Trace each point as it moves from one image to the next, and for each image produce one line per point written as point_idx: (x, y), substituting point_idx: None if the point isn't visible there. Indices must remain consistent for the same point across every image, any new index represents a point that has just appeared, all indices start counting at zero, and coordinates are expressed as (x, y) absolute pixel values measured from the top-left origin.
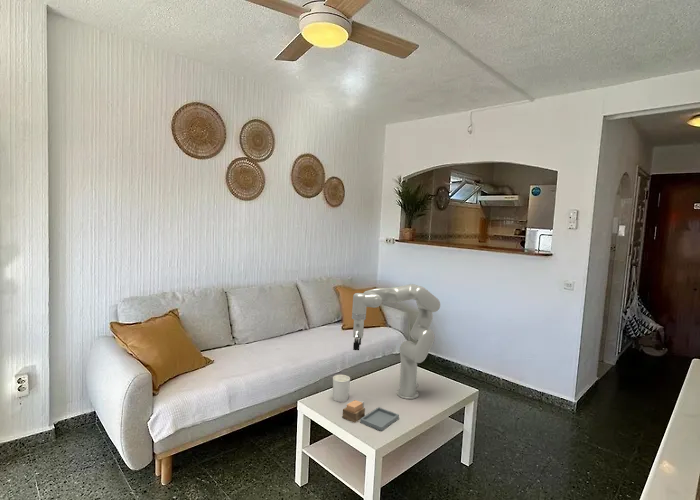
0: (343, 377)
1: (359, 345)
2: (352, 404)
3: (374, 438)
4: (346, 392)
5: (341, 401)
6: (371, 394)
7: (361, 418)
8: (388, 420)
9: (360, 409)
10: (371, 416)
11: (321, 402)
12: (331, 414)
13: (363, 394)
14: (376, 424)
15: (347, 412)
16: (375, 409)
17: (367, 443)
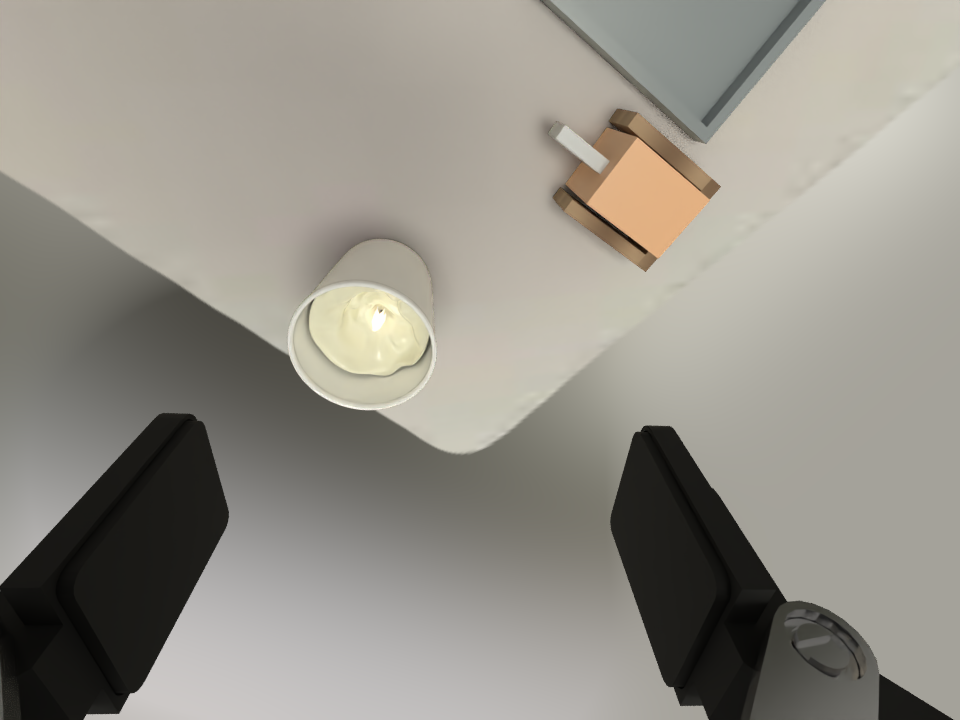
0: (297, 331)
1: (723, 515)
2: (658, 218)
3: (899, 32)
4: (412, 268)
5: (430, 277)
6: (246, 48)
7: (703, 134)
8: None
9: (657, 149)
10: (634, 53)
11: (454, 378)
12: (587, 315)
13: (270, 124)
14: (803, 11)
15: None
16: (575, 14)
17: (936, 84)
